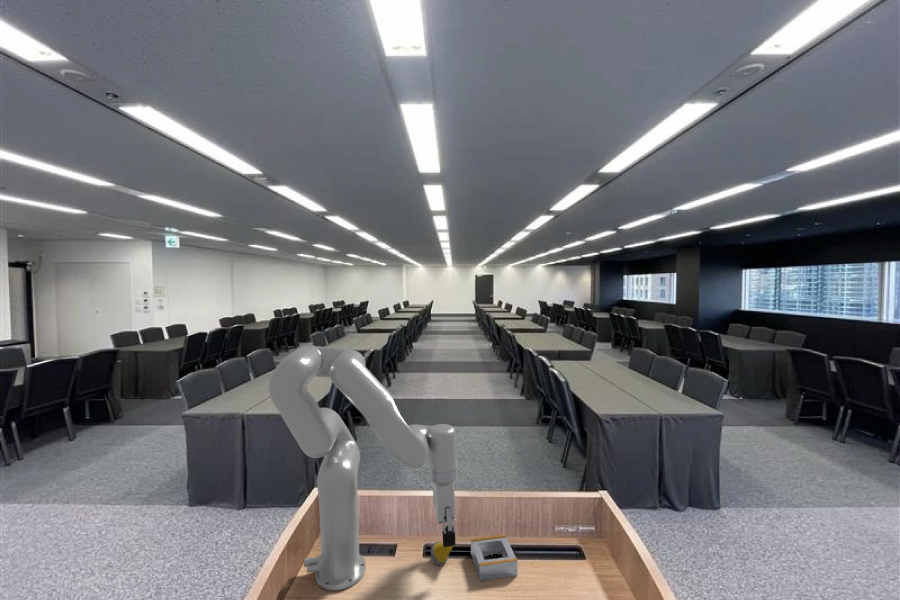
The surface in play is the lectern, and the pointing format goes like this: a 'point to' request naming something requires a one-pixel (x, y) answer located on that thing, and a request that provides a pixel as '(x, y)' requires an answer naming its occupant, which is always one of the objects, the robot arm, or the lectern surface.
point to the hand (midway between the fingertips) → (446, 533)
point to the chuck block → (493, 566)
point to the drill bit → (440, 553)
